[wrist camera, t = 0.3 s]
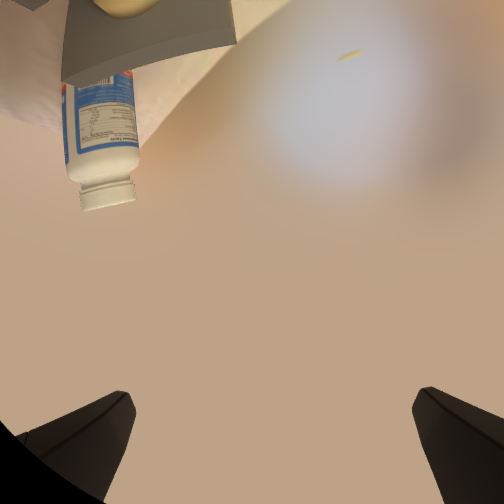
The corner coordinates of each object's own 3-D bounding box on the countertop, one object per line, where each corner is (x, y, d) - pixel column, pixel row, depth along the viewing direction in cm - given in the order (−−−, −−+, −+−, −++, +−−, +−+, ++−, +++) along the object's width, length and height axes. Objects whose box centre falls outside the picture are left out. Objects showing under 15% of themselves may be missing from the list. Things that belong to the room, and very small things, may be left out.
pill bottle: (100, 93, 20) (110, 205, 22) (49, 87, 15) (57, 217, 17) (148, 69, 18) (160, 196, 20) (94, 53, 13) (104, 207, 15)
